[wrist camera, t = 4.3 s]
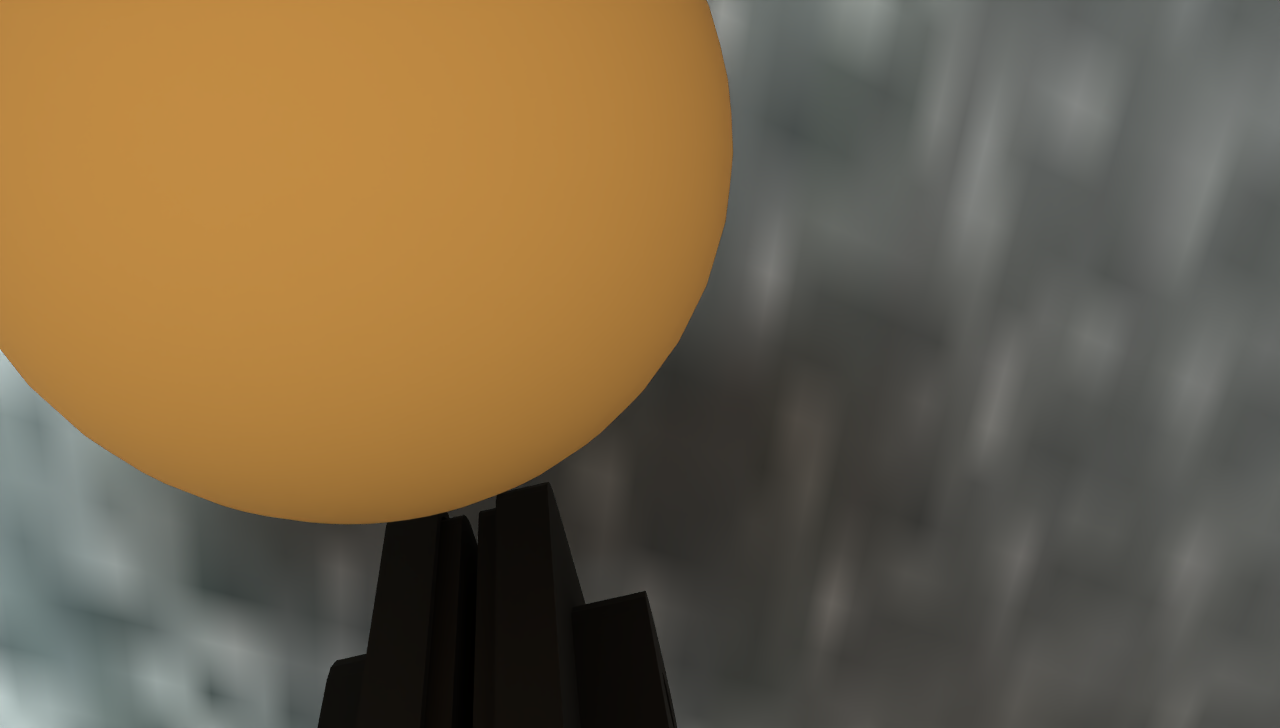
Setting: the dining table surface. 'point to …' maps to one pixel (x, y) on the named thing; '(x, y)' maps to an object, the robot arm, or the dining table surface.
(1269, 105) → the dining table surface
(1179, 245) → the dining table surface
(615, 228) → the ball
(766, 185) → the dining table surface
